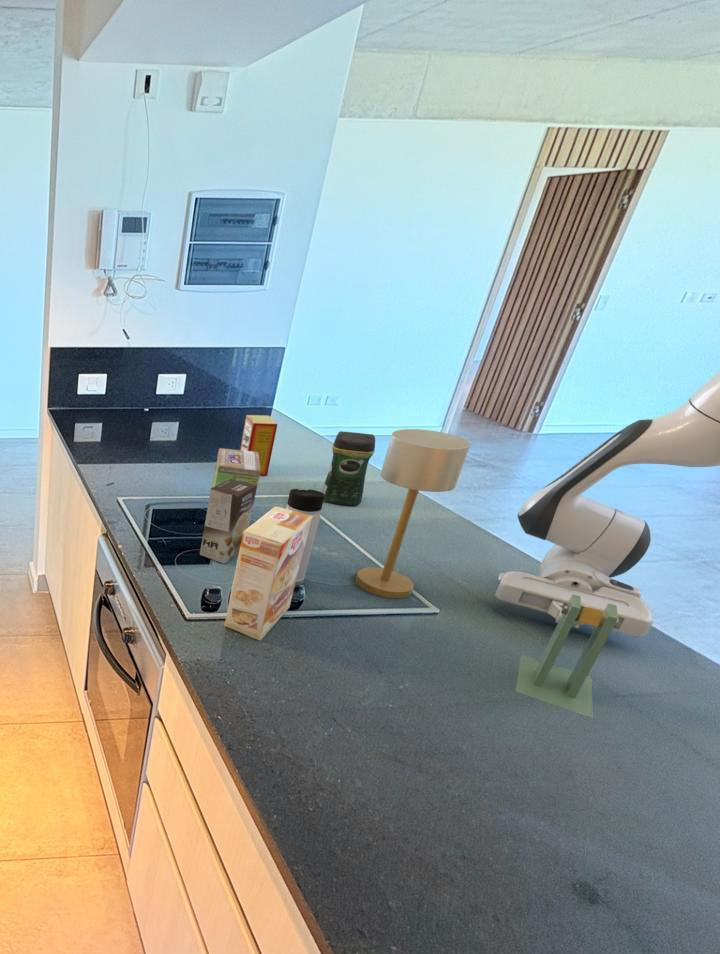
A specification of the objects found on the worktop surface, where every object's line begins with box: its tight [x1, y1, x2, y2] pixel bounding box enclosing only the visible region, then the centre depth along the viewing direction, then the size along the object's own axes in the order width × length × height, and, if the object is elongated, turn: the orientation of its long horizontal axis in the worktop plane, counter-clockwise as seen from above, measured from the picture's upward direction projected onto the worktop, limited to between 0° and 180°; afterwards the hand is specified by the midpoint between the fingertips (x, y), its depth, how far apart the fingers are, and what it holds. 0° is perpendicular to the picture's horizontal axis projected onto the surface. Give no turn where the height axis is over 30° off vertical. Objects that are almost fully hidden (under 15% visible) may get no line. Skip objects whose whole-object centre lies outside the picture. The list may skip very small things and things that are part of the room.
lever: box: [573, 603, 604, 627], centre depth 94 cm, size 13×4×4 cm, turn 140°
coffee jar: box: [321, 430, 376, 506], centre depth 160 cm, size 10×8×19 cm
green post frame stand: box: [515, 594, 619, 719], centre depth 93 cm, size 12×9×16 cm
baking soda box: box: [239, 414, 278, 477], centre depth 182 cm, size 10×6×16 cm
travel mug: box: [285, 488, 325, 586], centre depth 123 cm, size 6×7×20 cm
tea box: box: [211, 447, 261, 488], centre depth 155 cm, size 15×10×15 cm
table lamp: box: [355, 428, 471, 599], centre depth 118 cm, size 12×12×31 cm
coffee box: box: [199, 479, 258, 565], centre depth 134 cm, size 9×6×16 cm
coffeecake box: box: [224, 505, 313, 641], centre depth 111 cm, size 15×7×20 cm, turn 137°
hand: (568, 622), depth 102 cm, fingers closed
